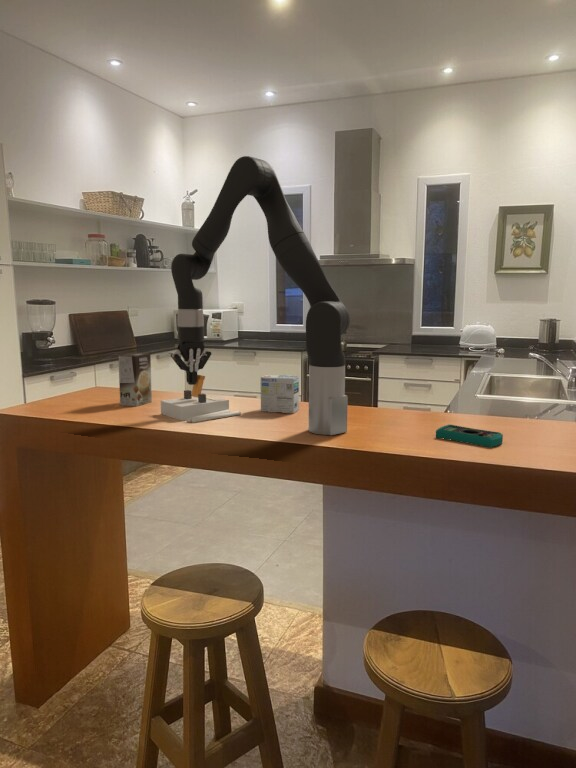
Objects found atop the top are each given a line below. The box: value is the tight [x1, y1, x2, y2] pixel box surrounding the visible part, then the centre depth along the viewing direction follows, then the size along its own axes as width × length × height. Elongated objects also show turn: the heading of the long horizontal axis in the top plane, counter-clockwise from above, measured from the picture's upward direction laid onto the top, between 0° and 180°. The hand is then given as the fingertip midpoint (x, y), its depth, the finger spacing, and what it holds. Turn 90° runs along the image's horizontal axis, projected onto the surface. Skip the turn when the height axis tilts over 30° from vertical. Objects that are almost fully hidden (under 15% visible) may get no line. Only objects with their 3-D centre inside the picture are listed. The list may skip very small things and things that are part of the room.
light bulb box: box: [260, 374, 300, 414], centre depth 172 cm, size 11×7×11 cm, turn 76°
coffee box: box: [118, 352, 153, 407], centre depth 183 cm, size 9×6×16 cm
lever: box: [191, 374, 206, 398], centre depth 168 cm, size 3×2×7 cm, turn 41°
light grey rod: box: [192, 410, 242, 424], centre depth 161 cm, size 1×16×1 cm, turn 131°
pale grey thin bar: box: [185, 408, 231, 423], centre depth 163 cm, size 1×16×1 cm, turn 141°
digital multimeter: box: [435, 424, 504, 448], centre depth 138 cm, size 7×15×3 cm, turn 49°
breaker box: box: [160, 389, 230, 421], centre depth 168 cm, size 12×16×6 cm
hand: (192, 384), depth 166 cm, fingers closed
